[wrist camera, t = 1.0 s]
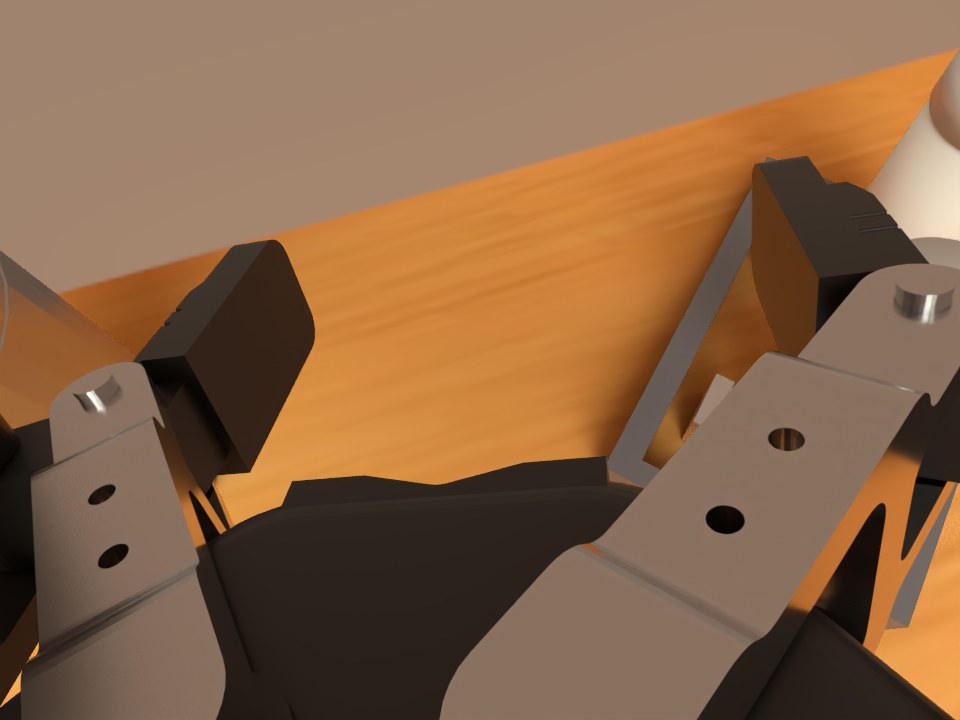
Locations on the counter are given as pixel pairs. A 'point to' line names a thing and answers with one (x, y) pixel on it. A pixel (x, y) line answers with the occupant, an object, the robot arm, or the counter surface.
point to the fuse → (927, 166)
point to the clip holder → (672, 370)
